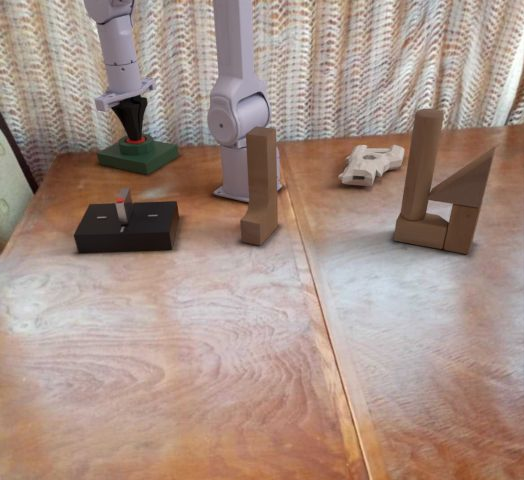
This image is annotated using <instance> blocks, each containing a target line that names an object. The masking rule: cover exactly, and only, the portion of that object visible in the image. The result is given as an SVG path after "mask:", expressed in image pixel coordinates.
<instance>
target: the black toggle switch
mask: <svg viewBox="0 0 524 480" xmlns="http://www.w3.org/2000/svg"><path fill="white" fill-rule="evenodd" d="M115 203H116V202H110V203H89V204H88V206H87V208H86V210H85V212H84V213H83V216H82V217H81V220H80V222H79V224H78V225H77V227H76V230H75V232H74V233H73V239H74V242H75V245H76V249H77V252H78V254H93V253H95V254H96V253H119V252H121V253H122V252H148V251H149V252H151V251H152V252H153V251H172V250H173V249H174V243H175V239H176V234H177V230H178V225H179V221H180V213H179V207H178V201H177V200H166V201H163V200H162V201H140V202H133V207H134V210H133V213H132V216H131V218H130V221H129V224H128V225H120V221H119V217H118V213H117V208H116V204H115Z"/></svg>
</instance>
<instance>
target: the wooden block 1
mask: <svg viewBox="0 0 524 480" xmlns="http://www.w3.org/2000/svg"><path fill="white" fill-rule="evenodd" d="M276 146H277V128H272V127H257V126H256V127H254V128H253V129H251V130H250V131H249V132H248V133H246V149H247V167H248V185H249V203H248V205H247V210H246V211H245V214H244V215H243V216H242V217H241V218H240V220H239V226H240V237H241V239H240V240H241V242H242V243H246V244H250V245H255V246H262V245H263V244H264V242H266V240H267V239H268V238H269V237H270V235H271V234H272V233H273V232H274V231H275V230H276V229H277V228H278V226H279V217H278V215H279V213H278V212H279V209H278V191H277V149H276Z"/></svg>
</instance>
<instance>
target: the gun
mask: <svg viewBox="0 0 524 480" xmlns="http://www.w3.org/2000/svg"><path fill="white" fill-rule="evenodd" d="M405 150H406V149H405V148H404V147H402V146H400V145H397V144H391V146H390V147H389V148H385V147H384V148H381V147H380V148H378V147H377V148H375V147H374V148H373V147H371V148H370V147H368V145H366V144H359V145H356V146H354V148H353V150H352V151H351V154H350V155H348V156H347V157H345V160H346V162H345V163H344V164H347V166H346V167H345V168H344V170H343V172H342V173H339V175H338V180H341V182H342V184H343V185H350V186H363V187H364V186H365V187H372V186H373V184H374V183H375V182H374V181H375V178H376V177H378V178H379V177H380V178H382V176H383V174H384V173H385V172H387V171H390V170H391V171H392V170H397V169H398V168H400V167H402V163H403V160H404V157H405Z"/></svg>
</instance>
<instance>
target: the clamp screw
mask: <svg viewBox="0 0 524 480" xmlns="http://www.w3.org/2000/svg"><path fill="white" fill-rule="evenodd" d="M114 203H115V204H116V208H117V213H118V217H119V221H120V225H128V224H129V221H130V218H131V216H132V213H133V210H134V207H133V203H134V202H133V198H132V193H131V189H130V187H123V188H121V189H120V192H119V195H118V196H117V199H116V200H115V202H114Z"/></svg>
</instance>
